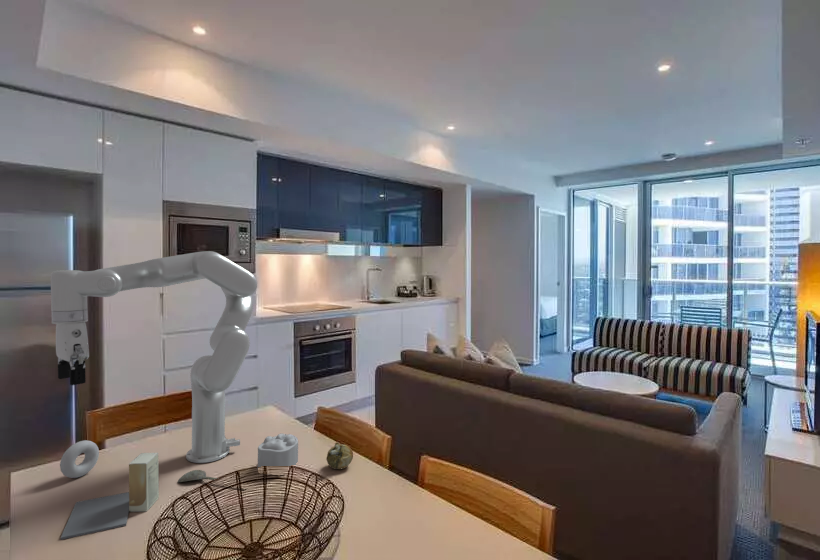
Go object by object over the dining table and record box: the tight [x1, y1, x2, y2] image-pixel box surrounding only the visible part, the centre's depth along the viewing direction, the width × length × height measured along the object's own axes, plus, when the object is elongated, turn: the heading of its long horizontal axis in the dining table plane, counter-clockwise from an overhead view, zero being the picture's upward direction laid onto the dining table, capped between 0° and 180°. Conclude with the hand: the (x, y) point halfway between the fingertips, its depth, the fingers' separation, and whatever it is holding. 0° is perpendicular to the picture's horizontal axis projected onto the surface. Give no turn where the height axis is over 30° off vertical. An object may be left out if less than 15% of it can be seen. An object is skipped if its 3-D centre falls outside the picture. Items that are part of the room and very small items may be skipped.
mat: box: [60, 491, 130, 541], centre depth 104 cm, size 12×16×1 cm
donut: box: [59, 439, 100, 479], centre depth 122 cm, size 10×4×10 cm, turn 161°
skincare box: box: [128, 452, 160, 513], centre depth 108 cm, size 6×4×12 cm
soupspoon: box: [177, 469, 217, 483], centre depth 120 cm, size 22×3×7 cm
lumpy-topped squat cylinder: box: [257, 433, 299, 468], centre depth 132 cm, size 10×13×9 cm
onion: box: [326, 441, 354, 470], centre depth 131 cm, size 8×8×8 cm
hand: (71, 380), depth 115 cm, fingers open, 9 cm apart
